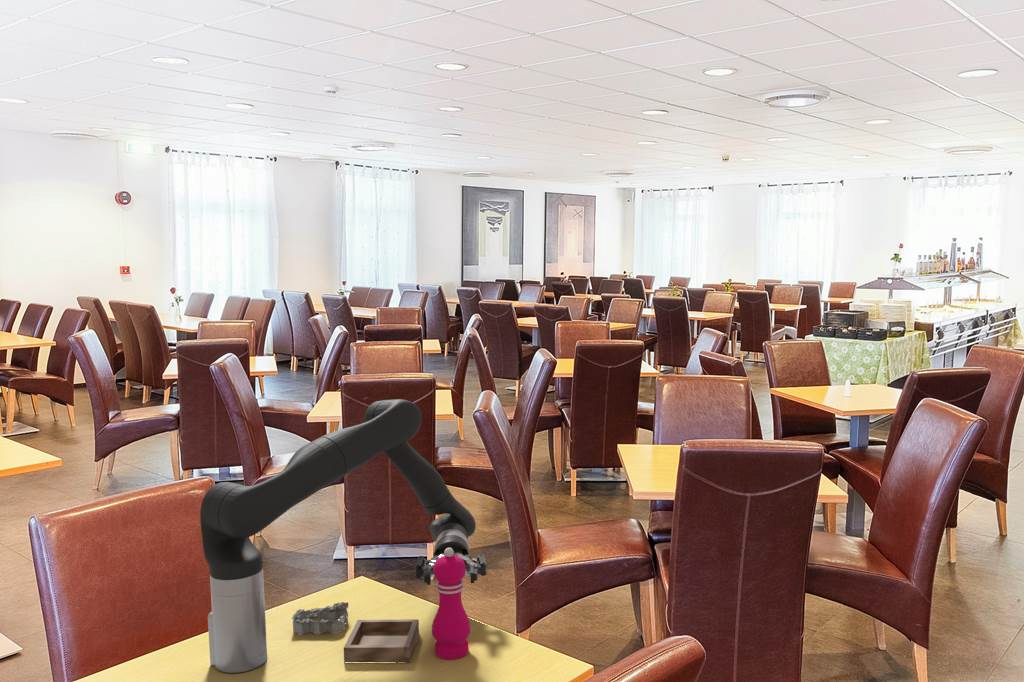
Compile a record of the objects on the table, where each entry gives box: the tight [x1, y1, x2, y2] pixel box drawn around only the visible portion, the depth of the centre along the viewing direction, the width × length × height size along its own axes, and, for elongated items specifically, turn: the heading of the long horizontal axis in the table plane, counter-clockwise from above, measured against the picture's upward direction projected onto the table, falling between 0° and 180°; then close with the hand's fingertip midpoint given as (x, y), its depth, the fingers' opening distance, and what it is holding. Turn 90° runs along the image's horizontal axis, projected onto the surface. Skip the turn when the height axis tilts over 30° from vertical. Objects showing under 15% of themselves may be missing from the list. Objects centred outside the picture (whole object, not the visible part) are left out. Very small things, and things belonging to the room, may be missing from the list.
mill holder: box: [343, 618, 420, 664], centre depth 160 cm, size 12×12×3 cm
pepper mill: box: [431, 548, 471, 660], centre depth 157 cm, size 7×7×20 cm
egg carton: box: [291, 601, 350, 636], centre depth 170 cm, size 11×8×4 cm
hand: (450, 579), depth 165 cm, fingers open, 8 cm apart
